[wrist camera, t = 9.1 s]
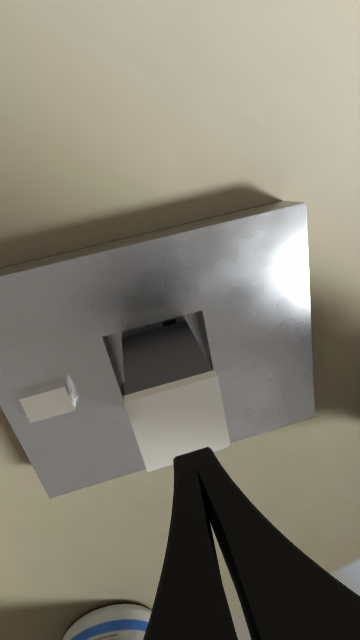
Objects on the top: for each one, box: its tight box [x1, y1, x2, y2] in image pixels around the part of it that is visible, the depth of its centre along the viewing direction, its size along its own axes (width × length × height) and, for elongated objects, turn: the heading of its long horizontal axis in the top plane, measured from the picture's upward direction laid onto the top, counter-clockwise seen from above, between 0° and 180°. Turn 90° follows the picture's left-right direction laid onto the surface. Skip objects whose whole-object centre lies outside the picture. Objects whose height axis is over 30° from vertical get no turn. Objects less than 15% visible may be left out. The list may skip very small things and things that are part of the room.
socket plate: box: [0, 201, 315, 498], centre depth 19 cm, size 18×14×3 cm
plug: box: [122, 321, 231, 472], centre depth 18 cm, size 4×4×6 cm
